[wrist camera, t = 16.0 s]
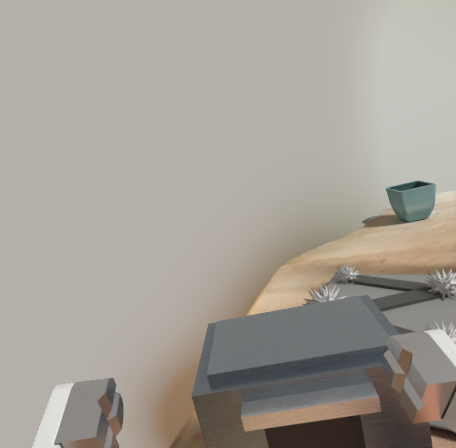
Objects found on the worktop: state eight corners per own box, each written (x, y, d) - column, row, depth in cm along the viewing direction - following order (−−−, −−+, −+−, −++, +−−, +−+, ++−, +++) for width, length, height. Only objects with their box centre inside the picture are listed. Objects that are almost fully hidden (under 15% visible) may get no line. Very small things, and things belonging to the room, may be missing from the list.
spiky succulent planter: (497, 455, 26) (490, 377, 25) (261, 395, 39) (248, 341, 37) (476, 287, 50) (472, 243, 49) (333, 283, 63) (327, 248, 61)
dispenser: (454, 552, 21) (430, 363, 18) (236, 573, 22) (185, 402, 20) (387, 422, 31) (366, 288, 28) (240, 443, 32) (206, 317, 30)
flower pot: (404, 226, 84) (399, 191, 82) (389, 219, 92) (385, 187, 91) (440, 218, 83) (436, 183, 81) (421, 212, 92) (418, 180, 90)
